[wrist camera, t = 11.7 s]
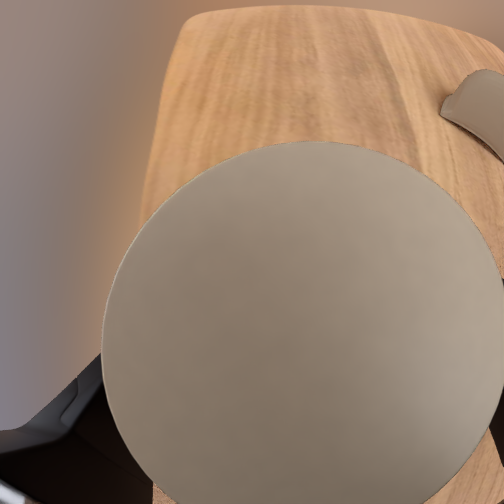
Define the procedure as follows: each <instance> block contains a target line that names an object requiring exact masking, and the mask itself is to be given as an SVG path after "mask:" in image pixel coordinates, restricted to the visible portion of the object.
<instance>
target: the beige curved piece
mask: <svg viewBox="0 0 504 504" xmlns="http://www.w3.org/2000/svg"><path fill="white" fill-rule="evenodd" d="M440 115H441V116H443V117H445V118H447V119H449V120H451V121H453V122H455V123H457V124H458V125H460V126H462V127H464V128H465V129H467V130H468V131H470V132H472V133H473V134H475V135H476V136H477V137H479V138H480V139H482V140H483V141H484V142H485V143H486V144H488V145H489V146H490V147H491V148H492V149H493V150H494V151H495V152H496V153H497V155H498V156H499V157H500V158H501V159H502V160H503V162H504V75H502V74H500V73H498V72H496V71H492V70H487V69H483V70H478V71H477V70H476V71H475V72H473V73H472V74H470V75H467V77H466V78H465V79H464V80H463V82H462V83H461V84H460V85H459V87H458V88H457V89H456V91H455V92H454V93H453V94H450V95H448V96H447V97H446V98H445V100H444V102H443V105H442V108H441V113H440Z"/></svg>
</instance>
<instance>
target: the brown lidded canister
mask: <svg viewBox="0 0 504 504" xmlns="http://www.w3.org/2000/svg"><path fill="white" fill-rule="evenodd" d="M101 362H102V374H103V381H104V386H105V391H106V395H107V400H108V404H109V407H110V410H111V413H112V415H113V418H114V421H115V423H116V426H117V428H118V431H119V433H120V435H121V436H122V438H123V440H124V442H125V444H126V446H127V448H128V449H129V451H130V453H131V454H132V456H133V457H134V459H135V460H136V461H137V463H138V464H139V465H140V467H141V468H142V469H143V471H144V472H145V473H146V475H147V476H148V477H149V478H150V479H151V480H152V481H153V482H154V483H155V484H156V485H157V486H158V487H159V488H160V489H161V490H162V491H163V492H164V493H165V494H166V495H167V496H169V497H170V498H171V499H172V500H174V501H175V502H176V503H177V504H423V503H424V502H426V501H427V500H428V499H429V498H431V497H432V496H433V495H435V494H436V493H437V492H438V491H439V490H440V489H441V488H443V487H444V486H445V485H446V484H447V483H448V482H449V481H450V480H451V479H452V478H453V477H454V476H455V475H456V474H457V473H458V471H459V470H460V469H461V468H462V466H463V465H464V464H465V463H466V461H467V460H468V459H469V457H470V456H471V455H472V453H473V452H474V451H475V449H476V447H477V446H478V444H479V443H480V441H481V439H482V437H483V436H484V434H485V432H486V431H487V429H488V427H489V424H490V422H491V420H492V418H493V415H494V413H495V411H496V408H497V406H498V403H499V400H500V397H501V393H502V390H503V386H504V286H503V282H502V278H501V275H500V272H499V269H498V267H497V264H496V262H495V259H494V257H493V254H492V252H491V250H490V248H489V246H488V245H487V243H486V241H485V239H484V237H483V236H482V234H481V232H480V230H479V229H478V228H477V226H476V225H475V223H474V222H473V221H472V219H471V218H470V217H469V215H468V214H467V213H466V211H465V210H464V209H463V208H462V207H461V206H460V205H459V204H458V203H457V202H456V201H455V200H454V199H453V198H452V197H451V196H450V194H449V193H448V192H446V191H445V190H444V189H443V188H441V187H440V186H439V185H438V184H436V183H435V182H434V181H433V180H431V179H430V178H429V177H428V176H426V175H424V174H423V173H421V172H419V171H418V170H416V169H414V168H413V167H411V166H409V165H408V164H406V163H404V162H402V161H399V160H397V159H395V158H393V157H390V156H388V155H386V154H383V153H380V152H377V151H374V150H370V149H367V148H363V147H360V146H355V145H349V144H343V143H336V142H323V141H301V142H291V143H281V144H275V145H271V146H267V147H262V148H258V149H254V150H251V151H248V152H245V153H242V154H240V155H237V156H234V157H232V158H229V159H227V160H225V161H223V162H221V163H219V164H217V165H215V166H213V167H211V168H209V169H207V170H205V171H204V172H202V173H201V174H199V175H198V176H196V177H195V178H193V179H192V180H190V181H189V182H188V183H186V184H185V185H183V186H182V187H181V188H179V189H178V190H177V191H176V192H175V193H174V194H173V195H171V196H170V197H169V198H168V199H167V200H166V201H165V202H164V203H163V204H162V205H161V206H160V207H159V208H158V209H157V210H156V211H155V212H154V214H153V215H152V216H151V217H150V218H149V219H148V220H147V222H146V223H145V224H144V225H143V226H142V228H141V229H140V231H139V232H138V234H137V235H136V237H135V238H134V240H133V242H132V243H131V245H130V246H129V248H128V249H127V252H126V253H125V255H124V257H123V260H122V261H121V264H120V266H119V268H118V270H117V272H116V274H115V277H114V280H113V283H112V286H111V289H110V292H109V295H108V299H107V303H106V308H105V313H104V318H103V324H102V337H101Z"/></svg>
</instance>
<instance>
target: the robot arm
mask: <svg viewBox="0 0 504 504" xmlns="http://www.w3.org/2000/svg"><path fill="white" fill-rule="evenodd" d="M502 282H503V286H504V279H503V278H502ZM489 429H490V431H491V434H492V437H493V439H494V442H495V445H496V448H497V451H498V454H499V457H500V460H501V463H502V465H503V467H504V386H503V390H502V393H501V397H500V400H499V403H498V406H497V408H496V411H495V413H494V415H493V418H492V420H491V422H490V424H489ZM152 487H153V481H152V480H151V479H150V478H149V477H148V476H147V475H146V473H145V472H144V471H143V469H142V468H141V467H140V465H139V464H138V463H137V461H136V460H135V459H134V457H133V456H132V454H131V453H130V451H129V449H128V448H127V446H126V444H125V442H124V440H123V438H122V436H121V435H120V433H119V431H118V428H117V426H116V423H115V421H114V418H113V415H112V413H111V410H110V407H109V404H108V400H107V395H106V391H105V386H104V381H103V374H102V362H101V353H100V354H99V355H98V356H97V357H96V358H95V359H94V360H93V361H92V362H91V363H90V364H89V365H88V366H87V367H86V368H85V369H84V370H83V371H82V372H81V373H80V374H79V375H78V376H77V378H75V379H74V380H73V381H72V382H71V383H70V384H69V385H68V386H67V387H66V388H65V389H64V390H63V391H62V392H61V393H60V394H59V395H58V396H57V397H56V398H54V399H53V400H52V401H51V402H50V403H49V404H48V405H47V406H46V407H44V408H43V409H42V410H41V411H40V412H39V413H38V414H37V415H35V416H34V417H33V418H32V419H31V420H30V421H29V422H27V423H26V424H25V425H23V426H22V427H19V428H16V429H12V430H3V431H0V504H152V502H153V488H152ZM498 504H504V500H502V501H501V502H499V503H498Z"/></svg>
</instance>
